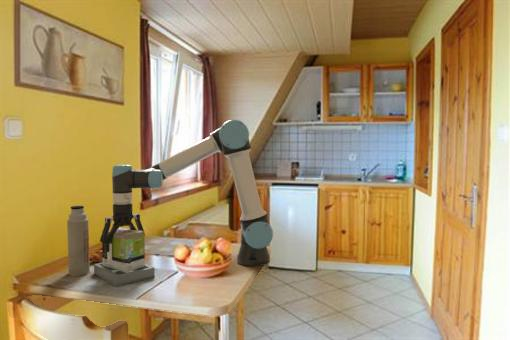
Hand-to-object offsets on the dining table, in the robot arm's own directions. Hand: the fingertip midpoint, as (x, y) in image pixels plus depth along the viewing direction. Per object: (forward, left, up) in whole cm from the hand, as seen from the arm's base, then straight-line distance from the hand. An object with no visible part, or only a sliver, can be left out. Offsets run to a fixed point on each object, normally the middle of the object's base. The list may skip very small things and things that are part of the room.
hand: (123, 256), depth 161 cm
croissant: (+27, -6, -8) cm, 29 cm away
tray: (0, 0, -8) cm, 8 cm away
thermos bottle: (+16, +12, -8) cm, 22 cm away
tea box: (0, 0, -4) cm, 4 cm away
